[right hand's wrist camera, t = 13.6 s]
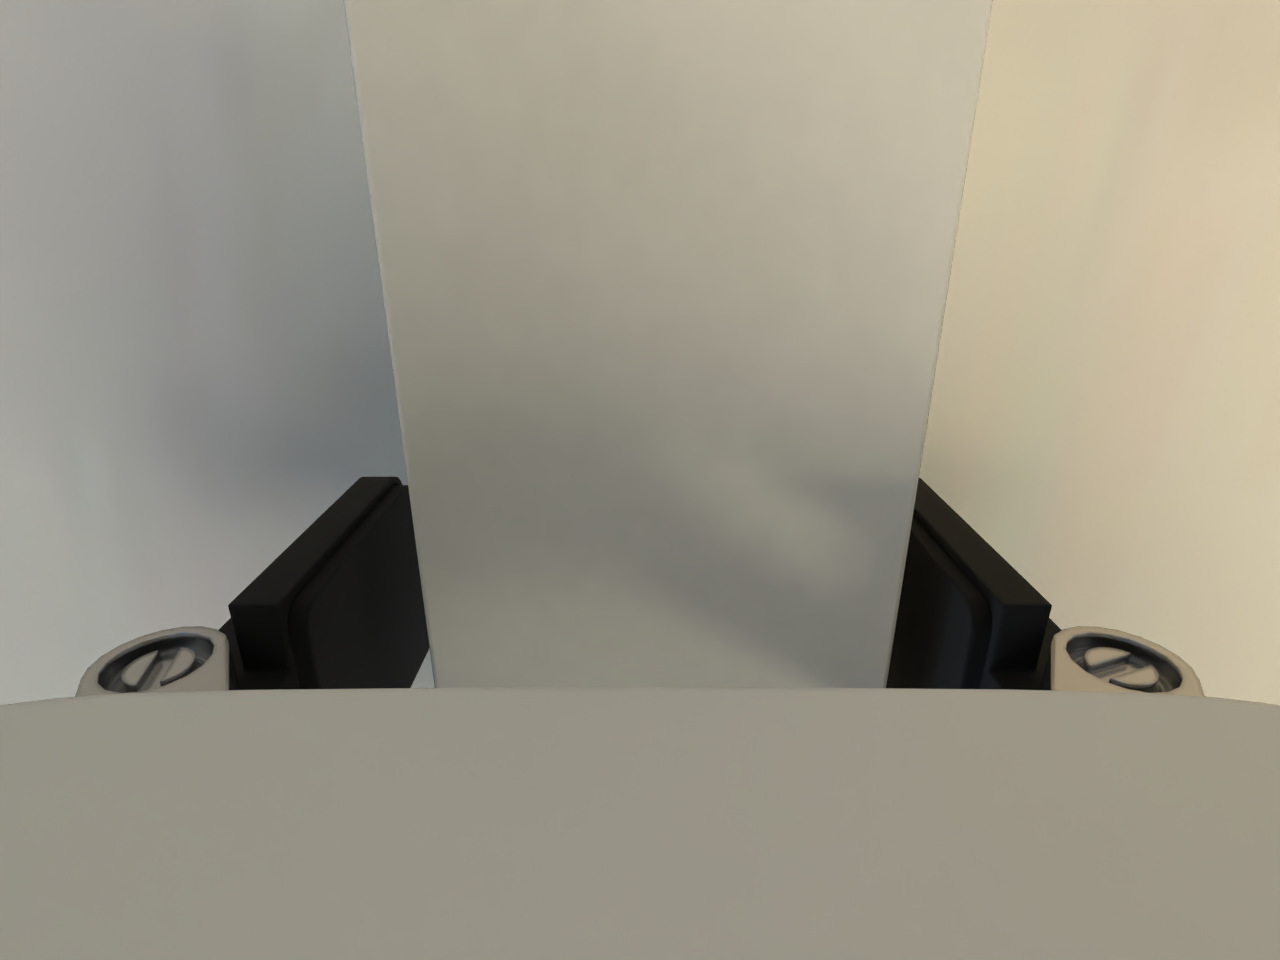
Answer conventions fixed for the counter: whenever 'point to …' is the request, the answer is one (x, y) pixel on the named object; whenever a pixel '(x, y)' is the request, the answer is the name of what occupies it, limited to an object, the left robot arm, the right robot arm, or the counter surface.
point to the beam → (664, 323)
